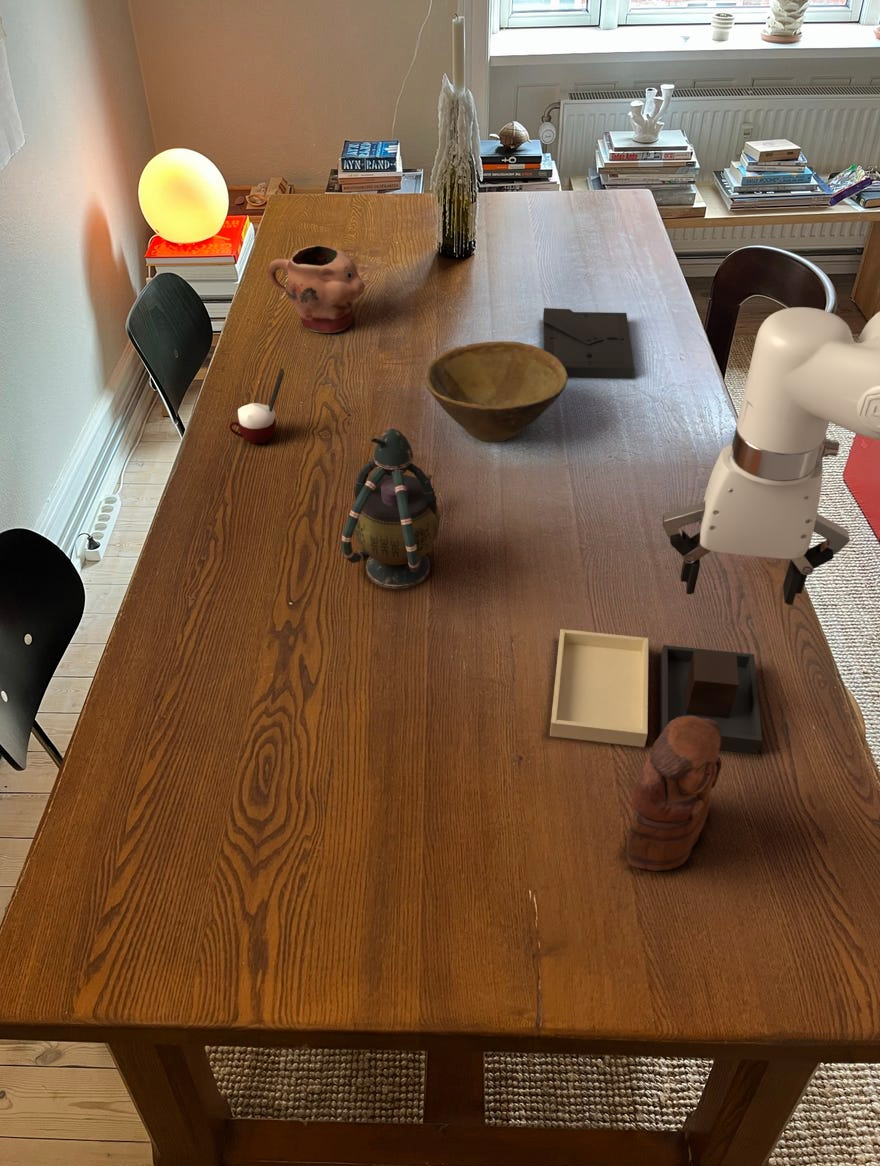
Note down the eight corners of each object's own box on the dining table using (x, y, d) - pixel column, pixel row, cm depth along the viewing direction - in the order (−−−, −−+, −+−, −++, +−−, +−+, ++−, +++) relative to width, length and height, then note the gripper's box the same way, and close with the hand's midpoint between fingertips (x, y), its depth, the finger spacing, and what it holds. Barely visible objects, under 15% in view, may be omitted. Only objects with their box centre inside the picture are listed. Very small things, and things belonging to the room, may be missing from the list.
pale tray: (645, 651, 130) (648, 637, 128) (644, 747, 119) (647, 733, 117) (558, 642, 132) (560, 628, 130) (549, 736, 120) (551, 722, 119)
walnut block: (726, 688, 124) (736, 654, 120) (728, 718, 121) (738, 684, 117) (685, 684, 125) (693, 650, 121) (686, 714, 122) (694, 680, 117)
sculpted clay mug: (260, 332, 195) (250, 262, 185) (283, 303, 203) (275, 235, 194) (358, 343, 191) (353, 272, 181) (377, 314, 199) (373, 244, 189)
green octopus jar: (339, 602, 139) (325, 461, 122) (387, 496, 156) (381, 360, 139) (423, 615, 136) (420, 474, 120) (463, 506, 153) (466, 370, 137)
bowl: (456, 381, 180) (456, 329, 173) (579, 407, 172) (584, 354, 165) (404, 444, 166) (403, 391, 159) (535, 475, 158) (540, 421, 151)
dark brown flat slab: (542, 321, 194) (543, 376, 180) (543, 307, 192) (544, 362, 178) (625, 322, 193) (632, 378, 178) (626, 309, 191) (634, 364, 176)
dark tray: (749, 667, 127) (754, 654, 126) (757, 754, 117) (762, 740, 116) (659, 658, 129) (662, 644, 127) (660, 742, 119) (663, 729, 117)
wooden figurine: (669, 890, 105) (699, 785, 92) (614, 860, 108) (636, 755, 95) (715, 814, 112) (749, 706, 99) (662, 787, 114) (689, 680, 102)
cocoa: (229, 446, 167) (217, 382, 159) (241, 425, 171) (230, 362, 163) (284, 451, 165) (275, 386, 157) (294, 430, 170) (286, 366, 161)
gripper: (871, 433, 92) (823, 575, 103) (677, 418, 95) (652, 558, 106) (882, 481, 86) (830, 625, 98) (676, 464, 89) (650, 605, 101)
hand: (738, 590), depth 102 cm, fingers open, 9 cm apart
